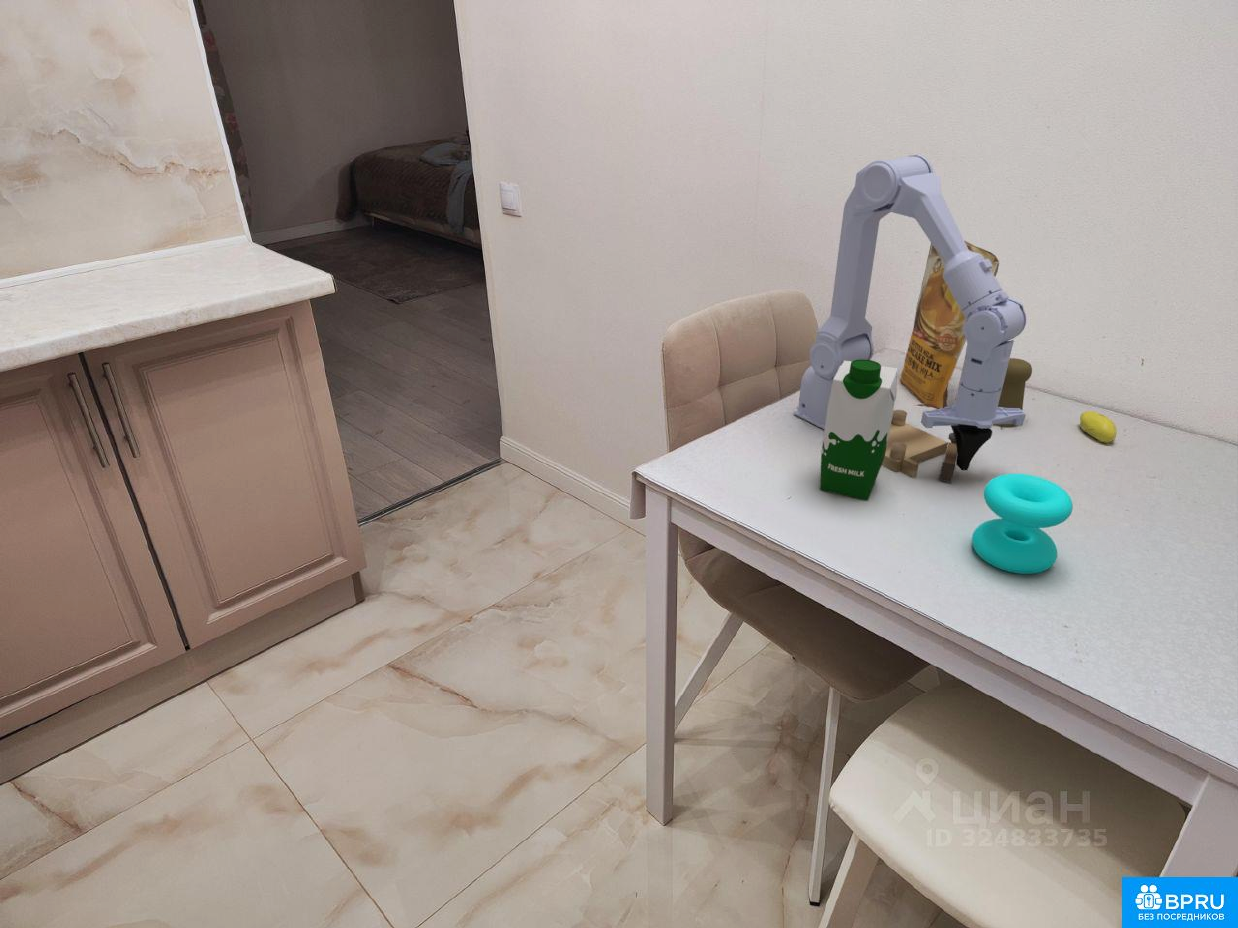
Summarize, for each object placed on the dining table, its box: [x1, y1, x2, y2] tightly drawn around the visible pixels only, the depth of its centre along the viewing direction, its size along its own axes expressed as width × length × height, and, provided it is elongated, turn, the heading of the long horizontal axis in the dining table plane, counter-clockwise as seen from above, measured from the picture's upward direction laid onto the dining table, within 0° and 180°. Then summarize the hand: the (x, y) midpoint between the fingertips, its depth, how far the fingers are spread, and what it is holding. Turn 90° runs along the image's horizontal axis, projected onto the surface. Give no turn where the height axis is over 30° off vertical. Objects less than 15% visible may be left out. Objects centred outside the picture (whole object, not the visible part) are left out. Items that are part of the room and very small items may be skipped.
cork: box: [992, 357, 1033, 429], centre depth 135 cm, size 6×6×11 cm
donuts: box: [971, 473, 1073, 575], centre depth 100 cm, size 10×10×10 cm
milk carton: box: [819, 359, 898, 501], centre depth 113 cm, size 9×9×20 cm
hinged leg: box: [938, 441, 957, 483], centre depth 121 cm, size 9×2×2 cm, turn 154°
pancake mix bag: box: [900, 240, 1000, 409], centre depth 141 cm, size 7×19×28 cm, turn 6°
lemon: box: [1079, 410, 1118, 444], centre depth 131 cm, size 4×8×4 cm, turn 179°
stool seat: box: [881, 409, 956, 478], centre depth 126 cm, size 13×13×4 cm
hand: (961, 467), depth 120 cm, fingers closed
